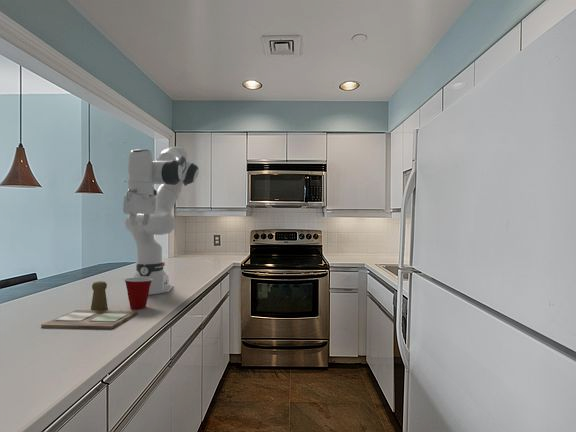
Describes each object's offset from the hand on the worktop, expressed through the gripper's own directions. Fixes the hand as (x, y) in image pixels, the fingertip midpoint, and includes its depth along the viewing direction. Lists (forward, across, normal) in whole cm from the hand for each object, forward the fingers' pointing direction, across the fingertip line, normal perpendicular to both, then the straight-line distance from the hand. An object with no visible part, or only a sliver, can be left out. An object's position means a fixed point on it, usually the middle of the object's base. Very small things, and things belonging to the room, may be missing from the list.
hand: (140, 225), depth 136 cm
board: (+33, -12, +11) cm, 37 cm away
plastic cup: (+34, +6, +3) cm, 34 cm away
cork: (+34, +2, +17) cm, 38 cm away
